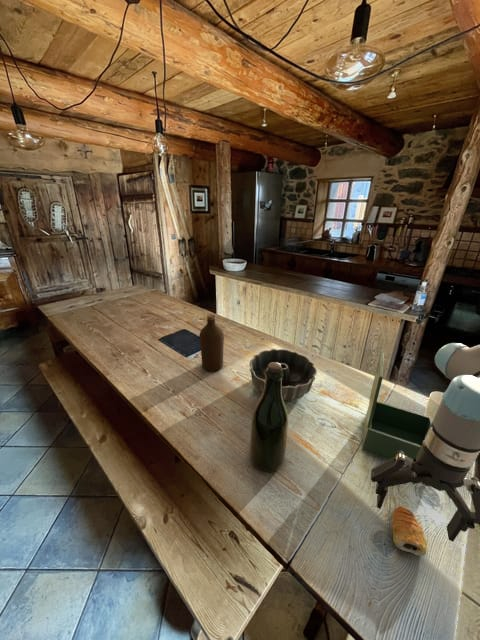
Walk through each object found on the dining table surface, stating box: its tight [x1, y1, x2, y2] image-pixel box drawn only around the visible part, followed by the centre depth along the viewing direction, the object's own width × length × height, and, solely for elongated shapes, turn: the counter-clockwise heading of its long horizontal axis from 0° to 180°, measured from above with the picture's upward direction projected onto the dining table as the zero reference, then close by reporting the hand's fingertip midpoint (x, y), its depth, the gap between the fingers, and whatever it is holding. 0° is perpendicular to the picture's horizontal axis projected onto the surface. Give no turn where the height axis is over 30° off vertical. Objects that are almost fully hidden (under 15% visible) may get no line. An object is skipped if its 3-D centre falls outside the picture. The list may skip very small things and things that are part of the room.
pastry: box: [390, 505, 428, 557], centre depth 61 cm, size 9×7×4 cm
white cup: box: [423, 391, 444, 420], centre depth 91 cm, size 8×8×10 cm
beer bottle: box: [249, 362, 289, 473], centre depth 72 cm, size 10×10×33 cm
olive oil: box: [198, 313, 225, 372], centre depth 116 cm, size 11×11×25 cm
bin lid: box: [367, 350, 385, 429], centre depth 80 cm, size 18×15×1 cm
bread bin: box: [361, 400, 433, 468], centre depth 82 cm, size 18×15×9 cm
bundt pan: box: [249, 348, 318, 402], centre depth 107 cm, size 26×26×10 cm
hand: (412, 517), depth 59 cm, fingers open, 13 cm apart
